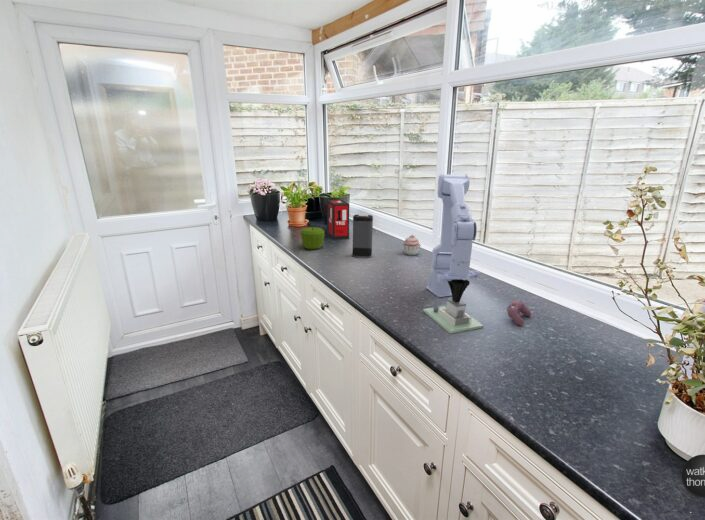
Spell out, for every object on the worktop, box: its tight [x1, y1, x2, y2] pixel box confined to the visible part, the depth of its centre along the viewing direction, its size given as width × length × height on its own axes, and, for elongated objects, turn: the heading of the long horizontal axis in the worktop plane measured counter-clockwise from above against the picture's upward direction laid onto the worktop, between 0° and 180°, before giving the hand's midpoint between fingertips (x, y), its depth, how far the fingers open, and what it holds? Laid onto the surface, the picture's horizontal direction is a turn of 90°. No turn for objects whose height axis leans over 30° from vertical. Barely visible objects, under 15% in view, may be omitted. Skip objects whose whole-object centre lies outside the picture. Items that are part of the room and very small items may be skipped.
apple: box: [300, 226, 326, 251], centre depth 194 cm, size 12×12×11 cm
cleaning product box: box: [326, 199, 350, 241], centre depth 218 cm, size 16×9×20 cm, turn 17°
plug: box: [445, 297, 467, 318], centre depth 118 cm, size 6×4×6 cm, turn 19°
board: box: [423, 305, 484, 335], centre depth 121 cm, size 16×12×3 cm
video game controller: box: [506, 299, 532, 327], centre depth 121 cm, size 10×5×7 cm, turn 141°
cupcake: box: [402, 234, 422, 256], centre depth 187 cm, size 9×9×10 cm
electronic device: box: [352, 214, 374, 259], centre depth 181 cm, size 9×6×20 cm, turn 84°
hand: (455, 300), depth 118 cm, fingers closed
